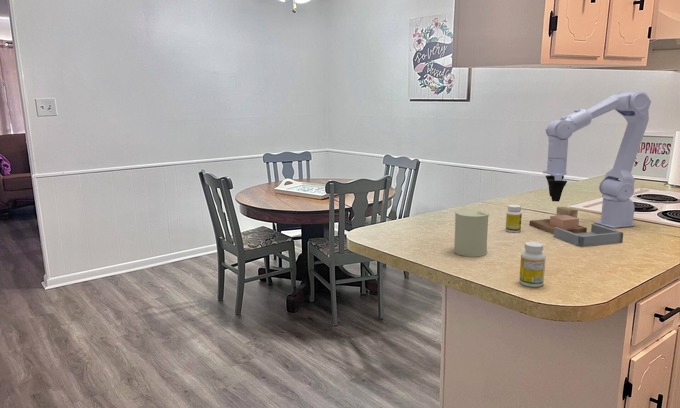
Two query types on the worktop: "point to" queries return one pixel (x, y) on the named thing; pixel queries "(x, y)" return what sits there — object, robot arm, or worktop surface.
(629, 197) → the robot arm
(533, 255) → the supplement bottle
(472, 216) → the can
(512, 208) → the supplement bottle
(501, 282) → the worktop surface
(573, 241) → the tray
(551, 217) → the pink square block
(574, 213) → the tall beige block
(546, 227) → the board
